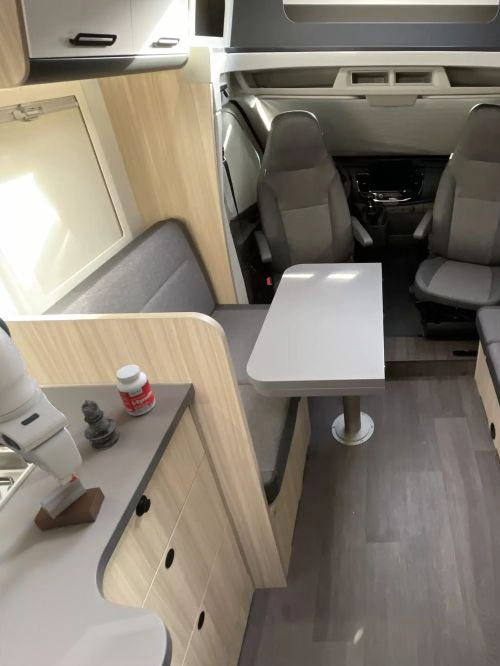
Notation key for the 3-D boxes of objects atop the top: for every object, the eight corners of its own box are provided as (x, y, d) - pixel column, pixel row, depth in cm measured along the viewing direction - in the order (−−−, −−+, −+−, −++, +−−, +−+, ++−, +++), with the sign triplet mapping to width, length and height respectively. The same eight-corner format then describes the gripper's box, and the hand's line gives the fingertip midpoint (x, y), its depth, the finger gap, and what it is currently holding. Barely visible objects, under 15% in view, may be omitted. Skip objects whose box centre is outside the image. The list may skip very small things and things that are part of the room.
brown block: (40, 530, 79) (33, 521, 77) (53, 505, 83) (46, 495, 81) (95, 521, 80) (89, 511, 78) (104, 496, 84) (99, 486, 83)
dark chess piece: (104, 427, 99) (85, 388, 93) (127, 431, 98) (109, 391, 92) (83, 449, 94) (62, 408, 88) (107, 453, 93) (87, 412, 87)
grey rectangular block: (53, 519, 77) (43, 504, 75) (47, 515, 78) (38, 500, 76) (86, 491, 82) (78, 476, 80) (81, 488, 82) (72, 473, 80)
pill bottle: (137, 420, 100) (122, 384, 95) (121, 410, 103) (106, 374, 98) (161, 403, 105) (148, 367, 99) (146, 394, 108) (132, 358, 102)
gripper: (-47, 404, 70) (-6, 461, 77) (27, 450, 62) (65, 510, 69) (-3, 379, 75) (32, 435, 82) (72, 419, 66) (103, 477, 74)
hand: (48, 469), depth 75 cm, fingers open, 8 cm apart
